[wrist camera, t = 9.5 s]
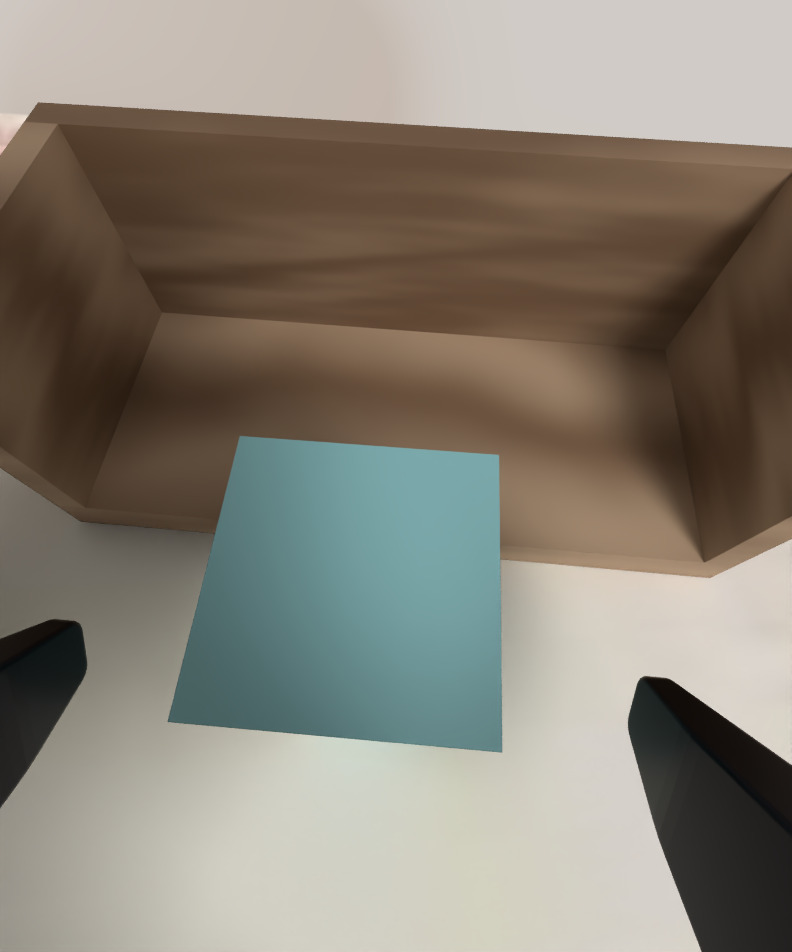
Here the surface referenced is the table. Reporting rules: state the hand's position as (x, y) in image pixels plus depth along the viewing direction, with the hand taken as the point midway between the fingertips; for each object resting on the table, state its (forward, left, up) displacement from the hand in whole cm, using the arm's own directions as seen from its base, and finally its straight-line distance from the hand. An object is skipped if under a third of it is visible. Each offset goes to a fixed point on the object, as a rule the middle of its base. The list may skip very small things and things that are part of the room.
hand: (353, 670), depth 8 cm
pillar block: (+1, 0, -9) cm, 9 cm away
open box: (+10, +3, -9) cm, 14 cm away
